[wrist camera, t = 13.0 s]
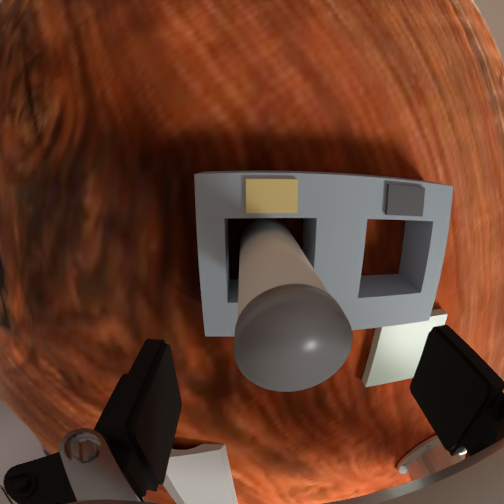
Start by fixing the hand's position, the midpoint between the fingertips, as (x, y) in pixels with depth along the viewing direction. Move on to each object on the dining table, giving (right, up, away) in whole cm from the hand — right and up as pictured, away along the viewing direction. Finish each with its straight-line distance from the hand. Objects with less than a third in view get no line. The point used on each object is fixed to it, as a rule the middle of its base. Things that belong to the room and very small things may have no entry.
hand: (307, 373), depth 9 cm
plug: (-1, +5, +13) cm, 14 cm away
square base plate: (+14, -6, +17) cm, 22 cm away
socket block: (+4, +5, +13) cm, 14 cm away
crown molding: (-11, -33, +26) cm, 44 cm away
